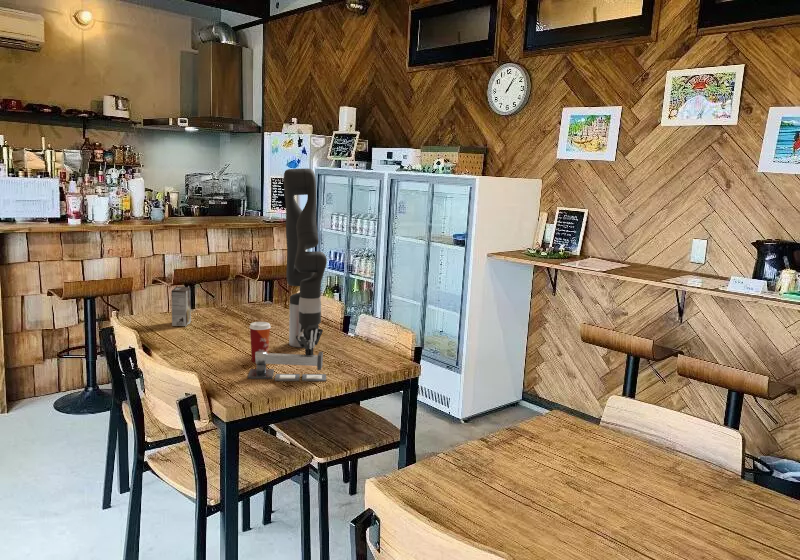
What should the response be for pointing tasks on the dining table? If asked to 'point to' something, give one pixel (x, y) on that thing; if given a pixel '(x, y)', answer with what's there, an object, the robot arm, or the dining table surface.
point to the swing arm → (289, 359)
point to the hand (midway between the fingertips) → (309, 358)
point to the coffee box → (181, 306)
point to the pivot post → (261, 372)
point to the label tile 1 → (287, 377)
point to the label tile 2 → (314, 377)
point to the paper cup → (259, 337)
